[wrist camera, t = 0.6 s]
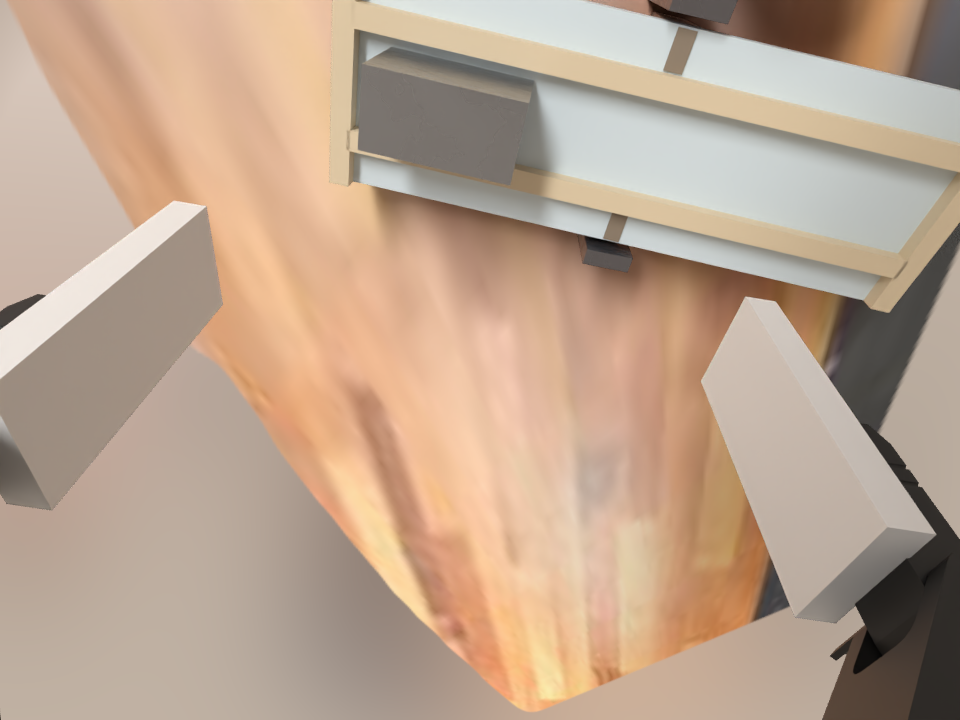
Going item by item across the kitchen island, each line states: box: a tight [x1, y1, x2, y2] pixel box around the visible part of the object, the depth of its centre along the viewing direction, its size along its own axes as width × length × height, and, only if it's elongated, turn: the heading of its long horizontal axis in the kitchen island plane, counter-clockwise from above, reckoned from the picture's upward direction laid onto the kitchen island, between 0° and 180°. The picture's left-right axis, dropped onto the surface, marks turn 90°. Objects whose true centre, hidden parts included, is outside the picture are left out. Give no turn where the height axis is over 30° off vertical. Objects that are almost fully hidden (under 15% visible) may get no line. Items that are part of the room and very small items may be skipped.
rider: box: [358, 47, 534, 186], centre depth 29 cm, size 4×8×6 cm, turn 79°
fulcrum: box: [578, 0, 738, 272], centre depth 33 cm, size 15×3×6 cm, turn 169°
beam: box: [329, 0, 960, 313], centre depth 31 cm, size 12×36×2 cm, turn 79°
